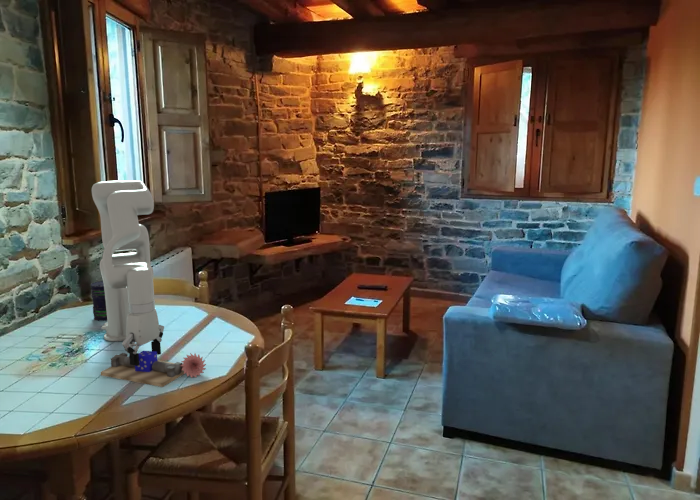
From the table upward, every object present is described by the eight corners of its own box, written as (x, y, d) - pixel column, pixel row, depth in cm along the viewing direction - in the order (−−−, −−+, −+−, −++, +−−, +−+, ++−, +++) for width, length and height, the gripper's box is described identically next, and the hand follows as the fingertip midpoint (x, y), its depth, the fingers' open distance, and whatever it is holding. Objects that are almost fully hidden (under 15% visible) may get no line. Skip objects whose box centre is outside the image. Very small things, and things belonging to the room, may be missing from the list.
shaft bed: (99, 375, 168) (98, 362, 167) (132, 359, 181) (131, 347, 180) (163, 387, 159) (162, 374, 158) (193, 369, 172) (192, 357, 171)
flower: (182, 352, 171) (186, 347, 166) (206, 359, 173) (210, 355, 169) (174, 376, 167) (178, 372, 162) (199, 383, 169) (204, 379, 165)
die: (143, 365, 173) (142, 350, 172) (158, 366, 172) (157, 351, 171) (135, 371, 168) (133, 356, 167) (149, 372, 167) (148, 357, 166)
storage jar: (102, 313, 232) (99, 280, 230) (123, 314, 231) (120, 280, 228) (88, 320, 223) (85, 285, 220) (110, 321, 221) (107, 286, 219)
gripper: (151, 298, 175) (155, 348, 179) (111, 313, 160) (115, 367, 163) (170, 301, 173) (173, 351, 176) (131, 316, 157) (135, 371, 160)
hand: (145, 359), depth 169 cm, fingers open, 9 cm apart
